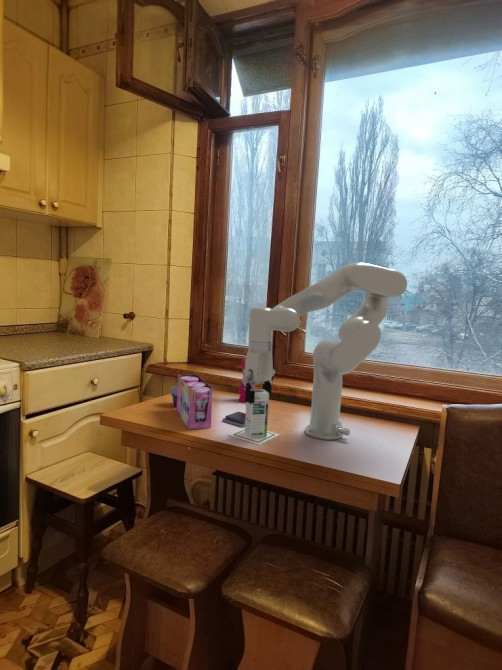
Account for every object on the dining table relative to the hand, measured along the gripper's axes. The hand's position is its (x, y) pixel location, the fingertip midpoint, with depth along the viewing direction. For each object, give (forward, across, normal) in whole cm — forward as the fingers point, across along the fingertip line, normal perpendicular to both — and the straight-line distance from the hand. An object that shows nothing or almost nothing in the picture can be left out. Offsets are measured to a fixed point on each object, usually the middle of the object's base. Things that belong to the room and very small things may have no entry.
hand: (258, 399), depth 130 cm
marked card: (+12, +1, -1) cm, 12 cm away
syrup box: (+12, 0, 0) cm, 12 cm away
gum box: (+12, +2, -26) cm, 29 cm away
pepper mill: (+12, -31, -27) cm, 43 cm away
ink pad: (+12, -7, -12) cm, 18 cm away
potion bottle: (+11, -6, -41) cm, 43 cm away
